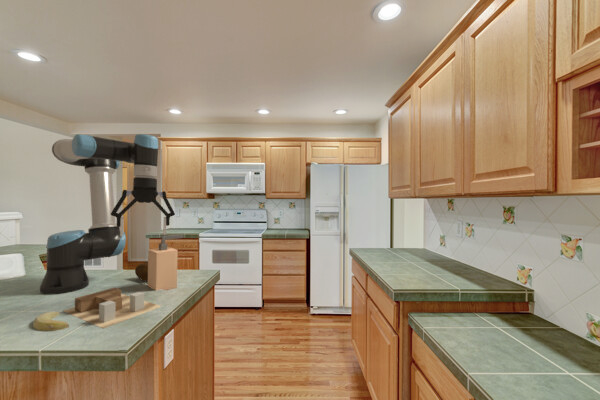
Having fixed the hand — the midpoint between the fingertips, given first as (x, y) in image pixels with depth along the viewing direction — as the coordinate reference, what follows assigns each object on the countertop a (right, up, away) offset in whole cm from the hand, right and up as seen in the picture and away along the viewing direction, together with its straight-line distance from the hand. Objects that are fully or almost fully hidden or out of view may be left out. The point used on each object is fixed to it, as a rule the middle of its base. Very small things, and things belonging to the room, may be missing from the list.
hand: (143, 235), depth 98 cm
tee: (-8, -23, -9) cm, 26 cm away
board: (-5, -24, -9) cm, 26 cm away
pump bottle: (+1, -25, +16) cm, 29 cm away
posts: (+1, -23, -14) cm, 27 cm away
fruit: (-15, -25, -19) cm, 35 cm away
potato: (-13, -24, +25) cm, 37 cm away
